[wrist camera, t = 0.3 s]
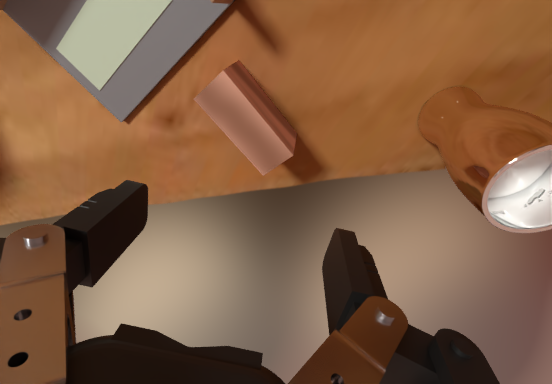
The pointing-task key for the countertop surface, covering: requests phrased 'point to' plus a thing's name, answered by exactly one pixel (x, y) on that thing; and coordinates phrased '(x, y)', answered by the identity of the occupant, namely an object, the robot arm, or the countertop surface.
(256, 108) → the block
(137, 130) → the countertop surface
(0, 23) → the countertop surface
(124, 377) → the robot arm
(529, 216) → the beer glass
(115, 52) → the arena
